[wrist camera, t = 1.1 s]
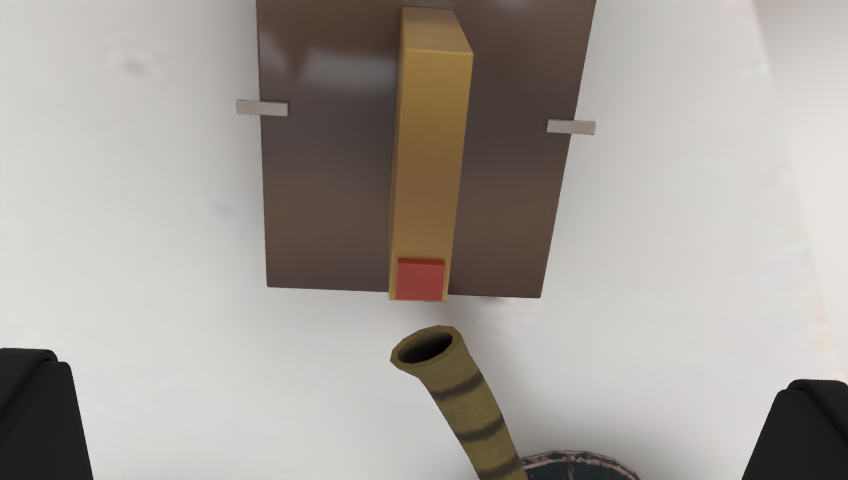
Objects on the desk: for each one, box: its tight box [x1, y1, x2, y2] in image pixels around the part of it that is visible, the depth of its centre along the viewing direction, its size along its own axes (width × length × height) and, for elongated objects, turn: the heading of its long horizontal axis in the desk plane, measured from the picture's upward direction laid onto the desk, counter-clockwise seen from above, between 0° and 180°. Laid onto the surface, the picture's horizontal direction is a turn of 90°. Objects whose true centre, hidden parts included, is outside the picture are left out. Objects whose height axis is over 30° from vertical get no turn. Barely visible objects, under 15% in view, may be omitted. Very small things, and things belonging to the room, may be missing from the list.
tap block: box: [236, 0, 596, 298], centre depth 21 cm, size 12×10×3 cm
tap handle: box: [389, 6, 474, 302], centre depth 17 cm, size 6×1×5 cm, turn 176°
